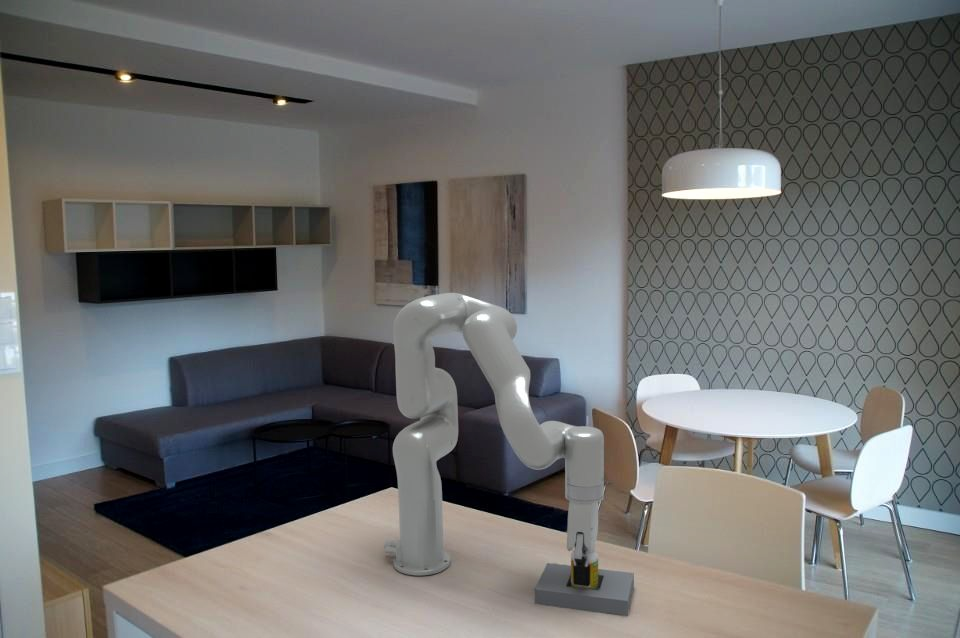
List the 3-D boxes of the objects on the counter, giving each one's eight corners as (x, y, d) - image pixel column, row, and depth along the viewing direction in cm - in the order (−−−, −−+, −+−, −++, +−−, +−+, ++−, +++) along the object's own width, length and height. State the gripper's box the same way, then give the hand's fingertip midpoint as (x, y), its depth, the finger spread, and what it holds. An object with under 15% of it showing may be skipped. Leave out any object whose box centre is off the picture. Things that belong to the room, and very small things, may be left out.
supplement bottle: (597, 596, 146) (597, 548, 145) (569, 593, 147) (569, 546, 146) (598, 583, 151) (598, 537, 150) (572, 581, 152) (572, 535, 151)
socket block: (534, 603, 146) (534, 589, 146) (547, 576, 157) (547, 562, 157) (627, 615, 141) (627, 600, 140) (633, 586, 152) (633, 572, 152)
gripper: (573, 474, 156) (573, 557, 158) (557, 503, 140) (557, 595, 142) (609, 477, 154) (608, 561, 156) (597, 507, 137) (596, 600, 139)
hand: (584, 576), depth 149 cm, fingers closed on supplement bottle, 5 cm apart
